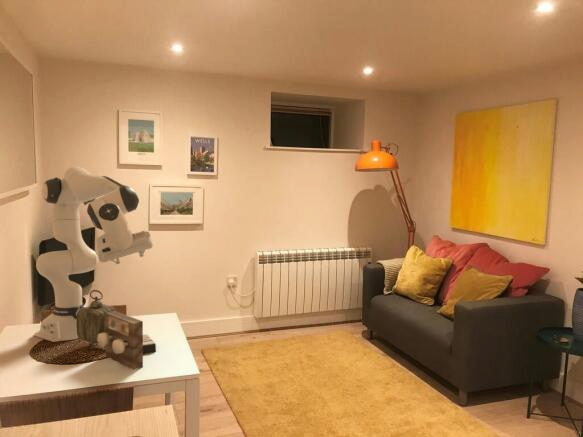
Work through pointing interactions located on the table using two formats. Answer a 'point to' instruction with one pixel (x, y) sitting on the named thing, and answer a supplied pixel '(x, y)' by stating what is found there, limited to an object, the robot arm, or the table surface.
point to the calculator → (148, 345)
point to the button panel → (125, 339)
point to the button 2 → (119, 346)
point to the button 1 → (103, 339)
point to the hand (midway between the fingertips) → (130, 258)
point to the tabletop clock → (92, 320)
